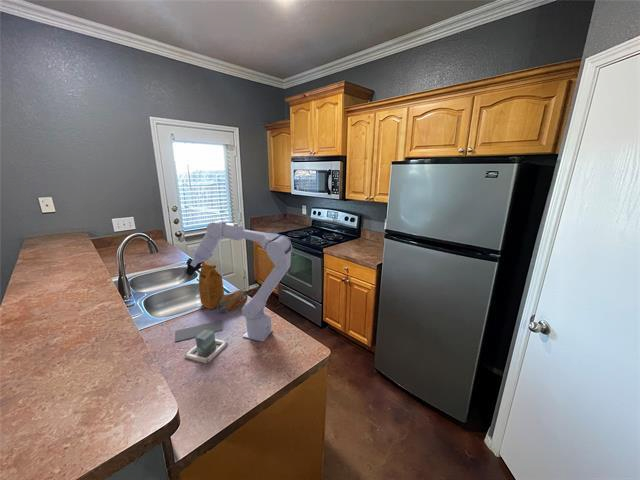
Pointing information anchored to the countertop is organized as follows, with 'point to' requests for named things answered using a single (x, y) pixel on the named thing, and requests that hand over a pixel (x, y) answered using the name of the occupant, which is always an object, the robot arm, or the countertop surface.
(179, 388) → the countertop surface
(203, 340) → the block
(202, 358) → the pocket frame
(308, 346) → the countertop surface
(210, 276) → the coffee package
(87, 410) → the countertop surface
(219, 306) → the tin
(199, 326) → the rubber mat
